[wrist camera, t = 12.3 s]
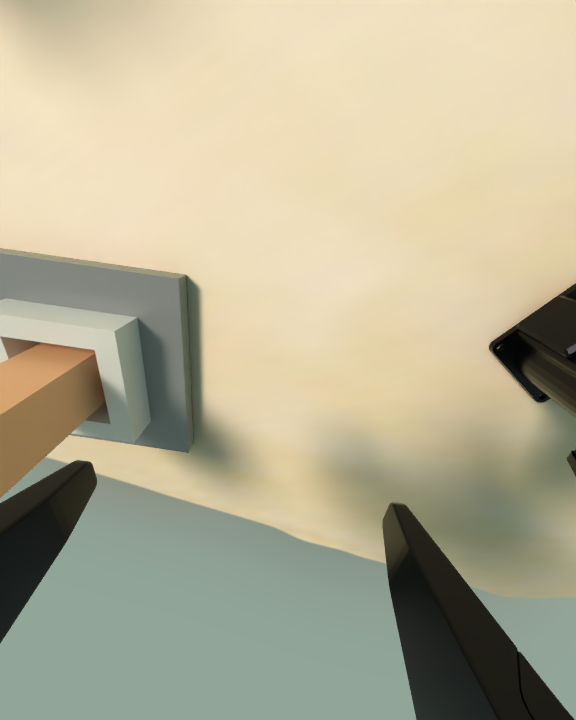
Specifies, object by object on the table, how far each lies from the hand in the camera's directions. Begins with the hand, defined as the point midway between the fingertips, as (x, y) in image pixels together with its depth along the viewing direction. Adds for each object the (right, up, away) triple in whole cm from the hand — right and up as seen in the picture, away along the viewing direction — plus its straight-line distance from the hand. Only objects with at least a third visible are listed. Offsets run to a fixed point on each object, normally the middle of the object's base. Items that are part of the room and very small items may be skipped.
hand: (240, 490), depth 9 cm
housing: (-14, +4, +14) cm, 20 cm away
